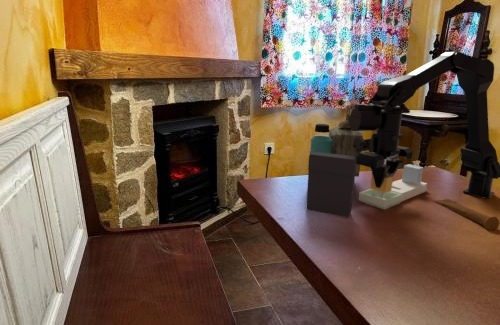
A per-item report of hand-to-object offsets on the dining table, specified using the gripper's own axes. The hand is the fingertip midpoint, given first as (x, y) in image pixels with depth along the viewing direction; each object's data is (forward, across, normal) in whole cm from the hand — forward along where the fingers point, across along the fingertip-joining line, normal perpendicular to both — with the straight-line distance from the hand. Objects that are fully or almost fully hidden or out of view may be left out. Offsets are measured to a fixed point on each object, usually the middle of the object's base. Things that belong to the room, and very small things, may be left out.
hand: (381, 186), depth 97 cm
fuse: (+5, -17, 0) cm, 18 cm away
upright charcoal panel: (+5, +17, -4) cm, 18 cm away
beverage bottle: (+5, +6, -17) cm, 19 cm away
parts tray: (+5, 0, 0) cm, 5 cm away
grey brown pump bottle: (+5, -5, -17) cm, 18 cm away
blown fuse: (+4, 0, 0) cm, 4 cm away
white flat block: (+5, -12, 0) cm, 13 cm away
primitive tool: (+5, -10, +17) cm, 21 cm away
